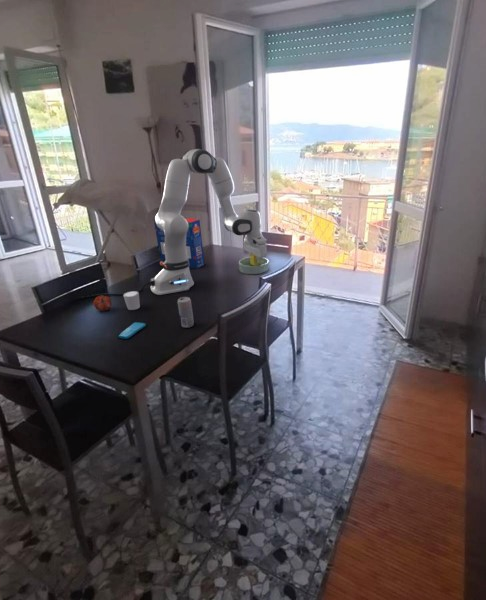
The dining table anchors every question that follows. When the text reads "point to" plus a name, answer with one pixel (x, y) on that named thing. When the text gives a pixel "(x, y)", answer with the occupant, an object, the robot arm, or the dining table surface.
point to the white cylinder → (132, 300)
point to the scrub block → (254, 260)
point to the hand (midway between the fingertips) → (255, 261)
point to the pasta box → (192, 243)
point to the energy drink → (185, 312)
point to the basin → (247, 269)
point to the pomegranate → (102, 303)
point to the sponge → (131, 330)
